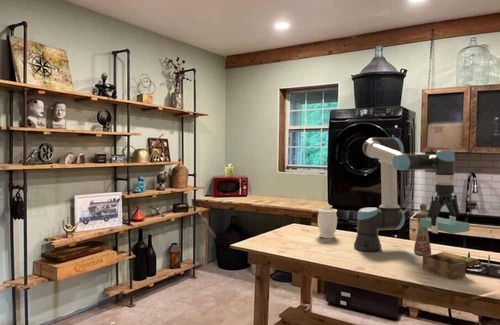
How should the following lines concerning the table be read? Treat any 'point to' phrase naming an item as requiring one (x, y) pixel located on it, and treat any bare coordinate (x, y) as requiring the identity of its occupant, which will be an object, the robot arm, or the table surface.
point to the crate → (444, 266)
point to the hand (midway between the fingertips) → (443, 231)
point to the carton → (459, 258)
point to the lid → (446, 225)
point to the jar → (327, 222)
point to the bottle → (422, 234)
